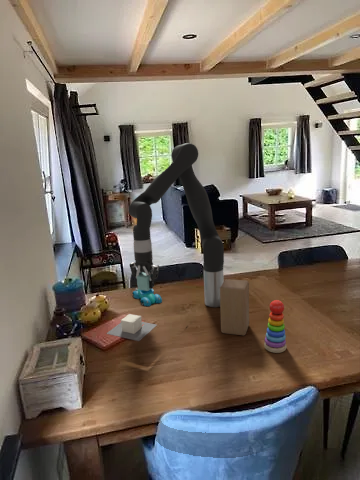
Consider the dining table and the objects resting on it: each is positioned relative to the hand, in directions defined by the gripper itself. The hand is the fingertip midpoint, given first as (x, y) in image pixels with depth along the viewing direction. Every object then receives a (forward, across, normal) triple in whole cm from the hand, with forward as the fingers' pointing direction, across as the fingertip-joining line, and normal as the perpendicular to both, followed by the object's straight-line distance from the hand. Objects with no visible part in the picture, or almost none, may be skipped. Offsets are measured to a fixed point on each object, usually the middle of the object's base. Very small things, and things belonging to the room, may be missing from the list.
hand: (145, 286), depth 157 cm
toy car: (+16, +13, -20) cm, 29 cm away
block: (+16, -38, -7) cm, 41 cm away
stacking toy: (+15, -56, +1) cm, 58 cm away
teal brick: (0, 0, 0) cm, 0 cm away
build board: (+16, +1, +11) cm, 19 cm away
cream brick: (+15, +1, +11) cm, 18 cm away
